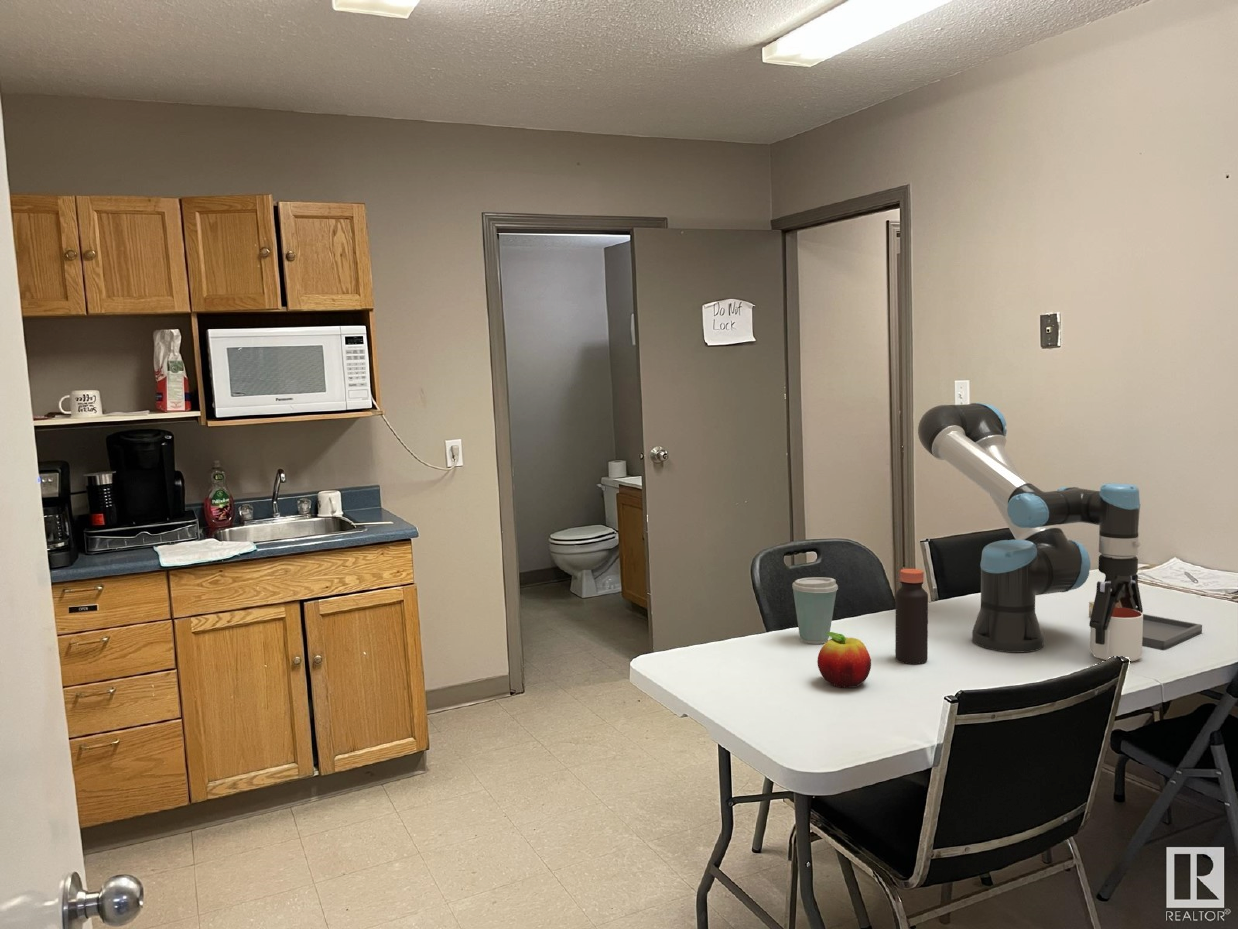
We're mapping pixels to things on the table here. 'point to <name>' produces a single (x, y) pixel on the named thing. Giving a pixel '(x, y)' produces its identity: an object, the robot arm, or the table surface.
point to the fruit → (844, 661)
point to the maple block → (1090, 608)
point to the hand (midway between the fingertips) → (1115, 652)
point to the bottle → (911, 618)
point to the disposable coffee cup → (814, 607)
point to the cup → (1123, 634)
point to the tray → (1167, 631)
